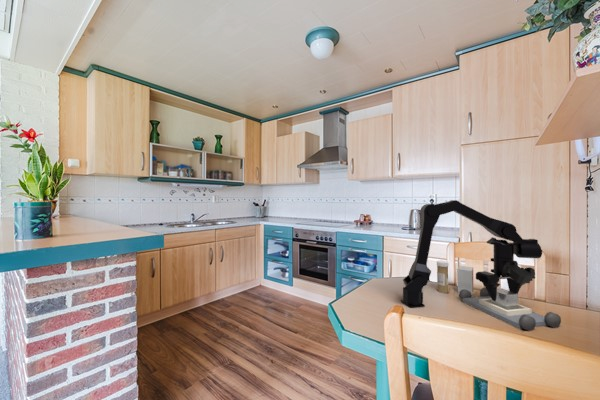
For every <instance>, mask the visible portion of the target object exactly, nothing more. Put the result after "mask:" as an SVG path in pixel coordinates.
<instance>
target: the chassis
mask: <svg viewBox="0 0 600 400" xmlns="http://www.w3.org/2000/svg"><path fill="white" fill-rule="evenodd" d="M458 296H459V299H460V300H461V301H462V303H464V304H466V305H469V306H471V307H472V308H474V309H477V310H479V311H480V312H483V313H485V314H487V315H489V316H491V317H493V318H496V319H497V320H499V321H502V322H504V323H506V324H508V325H510V326H512V327H514V328H517V329H518V330H521V329H522V330H523V329H524V330H525V331H528V332H531V331H533V330H535V328H539V327H551V328H554V329H557V328H558V327H560V325H561V323H562V318H561V316H560V315H559V313H555V312H553V311H548V312H546V314H544V315H543V314H540V313H537V312H536V311H535V312H534V311H532V308H529V307H526V306H525V305H521V304H519V303H518V309H513V310H506V309H503V308H501V307H499V306H496V305H494V304H492V303H491V297H490V295H489V293H488V291H487V289H486V288H485V287H483V288H481V289H480V291H479V296H475V297H474V296H473V295H471V292H470V291H468V290H465V289H463V290H461V291H460V293H458ZM472 296H473V297H472Z"/></svg>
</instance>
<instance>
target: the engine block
mask: <svg viewBox="0 0 600 400" xmlns="http://www.w3.org/2000/svg"><path fill="white" fill-rule="evenodd" d="M491 303H492V304H494V305H496V306H499V307H501V308H503V309H506V310H513V309H518V304H519V293H518V294H516V293H513V292H511V291H509V289H504V288H497V297H496V301H493V300H492V299H491Z"/></svg>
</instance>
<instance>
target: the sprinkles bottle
mask: <svg viewBox="0 0 600 400" xmlns="http://www.w3.org/2000/svg"><path fill="white" fill-rule="evenodd" d="M436 266H437V267H436V268H437V269H436V277H437V278H436V281H437V282H436V283H437V289H436V290H437V292H439V293H443V294H447V293H449V262H448V261H446V260H437V261H436Z"/></svg>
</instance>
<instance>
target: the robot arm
mask: <svg viewBox="0 0 600 400" xmlns="http://www.w3.org/2000/svg"><path fill="white" fill-rule="evenodd" d="M419 210H420V213H419V214H420V231H419V232H420V233H419V238H418V241H417V249H416V254H415V258H414V261H413V263H412V264H411V267H410V269H409V270H408V274H407V275H406V276H405V277H404V278H403V279H402V281H403V284H404V285H405V286H403V287H402V299H401V300H400V302H401V303H403V304H404V305H406V306H407V307H408V308H419V307H420V308H421V307H422V308H423V307H425V306H426V305H425V304H424V293H423V288H424V287H426V285H427V284H428V282H430V276H431V275H432V270H431V269H430V268H429V267H428V265H427V263H428V260H429V259H428V258H429V255H430V250H431V249H430V247H431V243H432V237H433V231H434V227H435V226H436V225H437V223H438V221H439V219H440V216H442V215H445V214H446V215H447V214H449V213H451V212H454V213H456V214H458V215H460V216H462V217H464V218H466V219H468V220H469V221H471V222H473V223H476V224H477V225H480V226H481V227H482V228H484V229H485V230H486V231H487V232H488V233H490V234H491V235H493V236H494V237H491V238H490V239H488V240H486V243H487V244H489V245H493V257H491V258H490V262H492V263H493V269H492V268H491V269H490V271H486V270H485V271H483V270H482V271H477V272H476V273H475V280H478V281H479V282H481V284H483V286H484V288H486V289H487V291H488V293H489V295H490V297H491V299H492V300H493V301H496V297H497V289H498V287H499V286H501V284H500V283H499V282H500V280H505V279H506V283H507V286H508V291H511V292H513V293H516V294H518V295H519V292H520V289H521V288H522V286H523V285H525V284H530V283H531V282H532V281H533V280H534V279H536V269H534V268H532V267H530V266H529V267H525V268H524V267H520V266H519V265H518V264H519V263H518V261H517V260H515V258H514V255H515V256H516V257H517V258H519V259H521V258H522V259H541V257H542V255H543V249H542V247H541V245H540V244H539V241H538V239H536V238H522V236H521V235H520V234H519V233H518V232H517V227H516V226H515V225H514V224H512V223H509V222H506V221H503V220H500V219H496V218H493V217H489V216H487V215H486V214H484V213H481V212H480V211H478V210H475V209H474V208H473V207H472V208H471V207H470V206H468V205H466V204H464V203H461V202H460V201H459V200H455V199H454V200H449V201H445V202H440V203H436V204H432V203H426V204H424V205H423V206H421V207H420V209H419ZM496 237H497V238H500V239H497V238H496ZM508 241H510V242H508Z"/></svg>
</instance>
